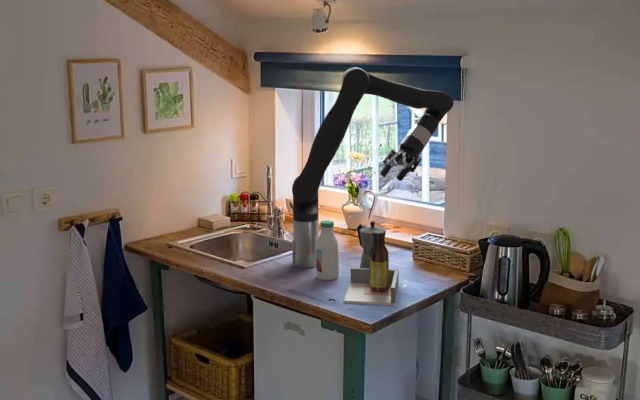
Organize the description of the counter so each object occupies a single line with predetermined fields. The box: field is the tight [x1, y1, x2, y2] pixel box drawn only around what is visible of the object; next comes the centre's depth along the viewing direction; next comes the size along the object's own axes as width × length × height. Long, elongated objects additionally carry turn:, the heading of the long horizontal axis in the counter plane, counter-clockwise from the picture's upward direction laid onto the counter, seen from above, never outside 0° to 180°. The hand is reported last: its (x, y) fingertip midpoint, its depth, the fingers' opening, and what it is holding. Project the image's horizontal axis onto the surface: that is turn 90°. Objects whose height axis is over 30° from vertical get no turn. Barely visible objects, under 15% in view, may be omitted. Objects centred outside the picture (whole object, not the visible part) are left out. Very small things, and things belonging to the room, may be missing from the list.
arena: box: [343, 267, 400, 306], centre depth 237 cm, size 16×18×6 cm
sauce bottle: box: [369, 230, 390, 292], centre depth 237 cm, size 6×6×20 cm
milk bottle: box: [315, 219, 340, 281], centre depth 253 cm, size 8×8×20 cm
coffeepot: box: [356, 221, 387, 268], centre depth 261 cm, size 15×9×18 cm, turn 34°
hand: (390, 177), depth 250 cm, fingers open, 8 cm apart
